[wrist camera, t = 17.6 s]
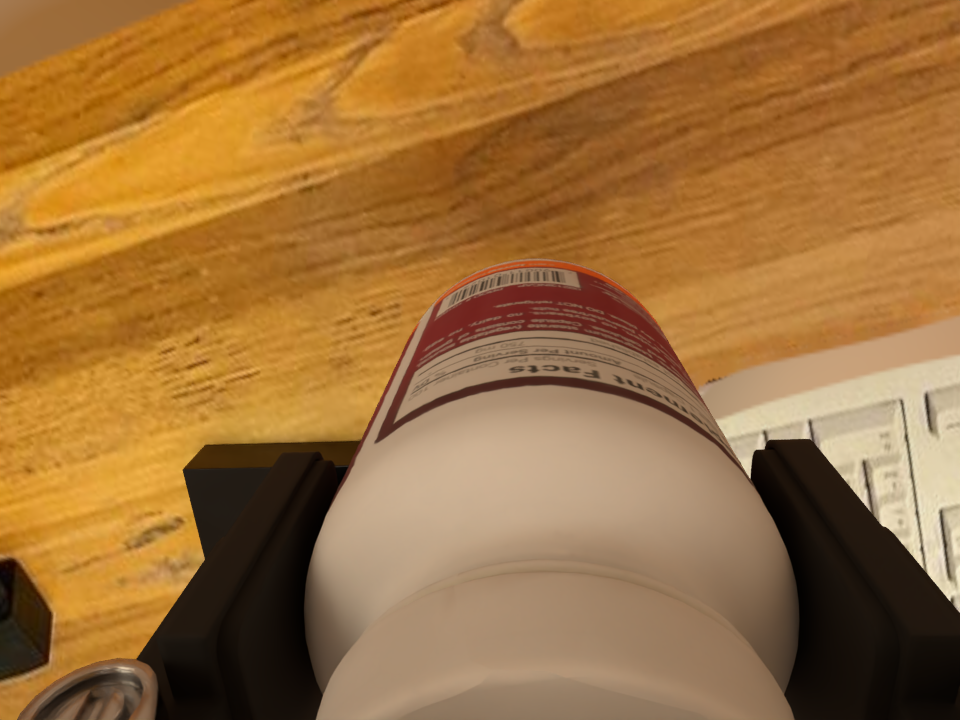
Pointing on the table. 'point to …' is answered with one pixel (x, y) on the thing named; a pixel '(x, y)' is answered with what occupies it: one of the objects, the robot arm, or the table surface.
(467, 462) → the pill bottle
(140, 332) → the table surface
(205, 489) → the button box
